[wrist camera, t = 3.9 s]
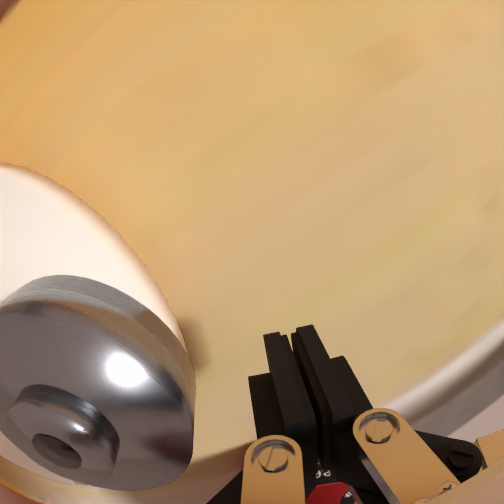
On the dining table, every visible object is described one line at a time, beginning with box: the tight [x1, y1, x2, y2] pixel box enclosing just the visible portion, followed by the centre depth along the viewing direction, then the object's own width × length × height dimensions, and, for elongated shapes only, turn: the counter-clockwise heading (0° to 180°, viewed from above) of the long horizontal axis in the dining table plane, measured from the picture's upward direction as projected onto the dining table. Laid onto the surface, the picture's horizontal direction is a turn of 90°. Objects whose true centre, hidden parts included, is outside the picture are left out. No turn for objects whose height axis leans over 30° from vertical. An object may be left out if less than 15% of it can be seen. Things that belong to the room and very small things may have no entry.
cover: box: [0, 275, 196, 491], centre depth 9 cm, size 9×9×4 cm
